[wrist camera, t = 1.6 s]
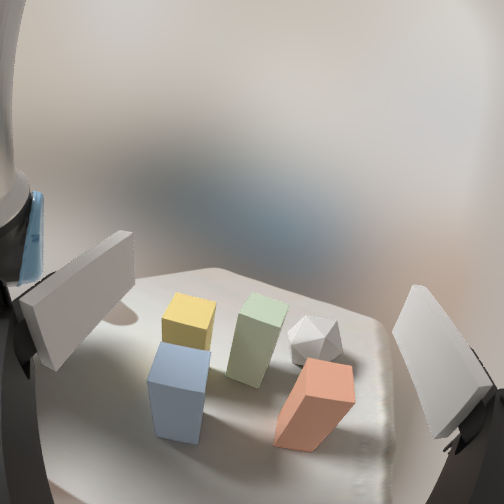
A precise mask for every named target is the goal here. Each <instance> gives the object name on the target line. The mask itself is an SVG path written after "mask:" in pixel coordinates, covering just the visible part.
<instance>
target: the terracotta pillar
mask: <svg viewBox="0 0 504 504" xmlns="http://www.w3.org/2000/svg"><path fill="white" fill-rule="evenodd" d="M354 404H355V392H354V381H353V370H352V366H349V365H344V364H338V363H333V362H328V361H323V360H318V359H313V358H307V360H306V363H305V365H304V367H303V369H302V371H301V373H300V375H299V377H298V379H297V381H296V383H295V385H294V387H293V389H292V391H291V393H290V395H289V396H288V398H287V400H286V402H285V404H284V406H283V408H282V410H281V411H280V413H279V416H278V422H277V428H276V434H275V439H274V445H273V446H276V447H282V448H287V449H294V450H300V451H308V452H313V451H314V450H315V449H316V448H317V447H318V445H319V444H320V443H321V442H322V441H323V440H324V439H325V438H326V437H327V436H328V435H329V433H330V432H331V431H332V430H333V429H334V428H335V427H336V426H337V424H338V423H339V422H340V421H341V420H342V418H343V417H344V416H345V415H346V414H347V412H348V411H349V410H350V409H351V408H352V406H353V405H354Z"/></svg>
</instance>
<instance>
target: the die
mask: <svg viewBox="0 0 504 504" xmlns="http://www.w3.org/2000/svg"><path fill="white" fill-rule="evenodd" d="M287 334H288V340H289V346H290V352H291V358H292V363H294V364H298V365H302V366H304V365H305V363H306V360H307V358H313V359H318V360H323V361H328V362H330V361H332V360H333V359H335V358H336V357H337V356H339V355H340V354H341V353H343V348H342V343H341V338H340V333H339V328H338V323H337V320H332V319H326V318H320V317H314V316H308V315H305V316H304V317H303V318H302V319H301V320H300V321H299V322H298V323H297V324H296V325H295V326H294V327H293V328H292V329H290V330H289V331H288V332H287Z"/></svg>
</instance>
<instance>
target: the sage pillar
mask: <svg viewBox="0 0 504 504" xmlns="http://www.w3.org/2000/svg"><path fill="white" fill-rule="evenodd" d="M289 305H290V304H287V303H284V302H281V301H278V300H275V299H272V298H269V297H266V296H263V295H260V294H257V293H255V292H252V293H251V295H250V297H249V298H248V300H247V301H246V303H245V304H244V306H243V307H242V309H241V310H240V312H239V314H238V319H237V324H236V328H235V333H234V338H233V343H232V347H231V352H230V357H229V361H228V366H227V371H226V377H229V378H231V379H234V380H236V381H239V382H241V383H244V384H246V385H249V386H252V387H255V388H257V389H259V387H260V384H261V382H262V380H263V377H264V375H265V373H266V370H267V368H268V365H269V363H270V360H271V357H272V354H273V351H274V349H275V346H276V343H277V340H278V337H279V334H280V331H281V329H282V326H283V323H284V320H285V317H286V314H287V311H288V308H289Z"/></svg>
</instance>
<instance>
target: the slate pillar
mask: <svg viewBox="0 0 504 504" xmlns="http://www.w3.org/2000/svg"><path fill="white" fill-rule="evenodd" d="M210 357H211V352H210V351H205V350H199V349H194V348H189V347H184V346H179V345H174V344H169V343H165V342H160V345H159V347H158V350H157V353H156V356H155V359H154V361H153V364H152V367H151V370H150V373H149V376H148V379H147V385H148V392H149V399H150V405H151V411H152V417H153V422H154V428H155V433H156V436H157V437H161V438H165V439H170V440H174V441H179V442H184V443H190V444H195V445H198V443H199V436H200V429H201V422H202V416H203V408H204V401H205V393H206V386H207V378H208V371H209V364H210Z"/></svg>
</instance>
